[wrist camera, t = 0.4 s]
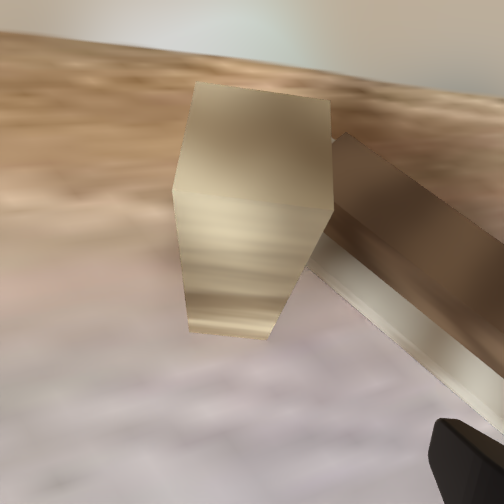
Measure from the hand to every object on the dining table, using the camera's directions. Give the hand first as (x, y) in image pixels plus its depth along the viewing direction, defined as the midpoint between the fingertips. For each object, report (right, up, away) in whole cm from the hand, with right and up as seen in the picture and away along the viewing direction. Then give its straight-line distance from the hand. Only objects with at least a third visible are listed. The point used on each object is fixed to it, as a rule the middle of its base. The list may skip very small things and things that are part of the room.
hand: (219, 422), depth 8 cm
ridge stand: (+14, -1, +16) cm, 21 cm away
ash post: (-1, +1, +15) cm, 15 cm away
